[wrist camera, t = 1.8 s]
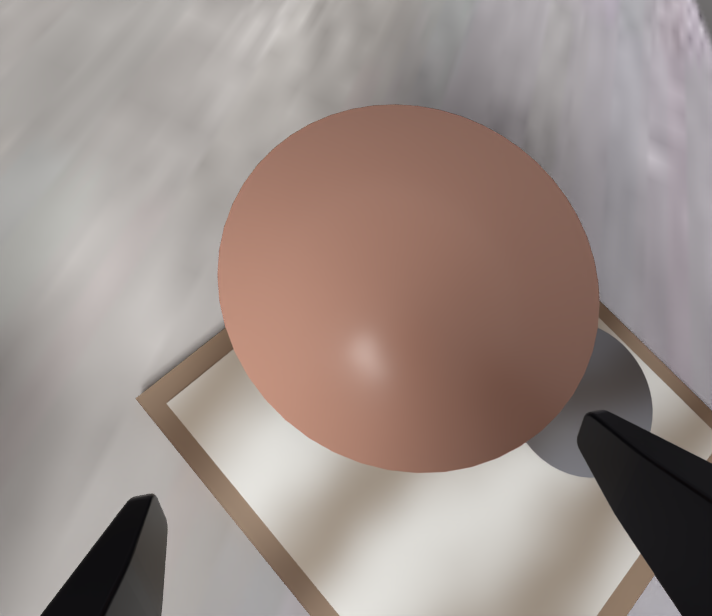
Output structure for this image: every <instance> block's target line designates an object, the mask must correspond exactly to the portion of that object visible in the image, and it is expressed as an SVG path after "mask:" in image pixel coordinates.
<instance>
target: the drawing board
mask: <svg viewBox="0 0 712 616" xmlns="http://www.w3.org/2000/svg"><path fill="white" fill-rule="evenodd" d="M599 304H600V305H599V318H598V329H597V334H596V339H595V343H594V348H593V352H592V355H591V357H590V360H589V363H588V366H587V368H586V371H585V374H584V375H583V377H582V379H581V381H580V383H579V385H578V387H577V388H576V390H575V392H574V394H573V395H572V397H571V398H570V399H569V401H568V402H567V403H566V405H565V406H564V407H563V409H562V410H561V411H560V413H559V414H558V415H557V416H556V417H555V418H554V419H553V420H552V421H551V422H550V423H549V424H548V425H547V426H546V427H545V428H544V429H543V430H542V431H541V432H539V433H538V434H537V435H535V436H534V437H533V438H531V439H530V440H528V441H527V442H526V443H524V444H523V445H522V446H520V447H518V448H516V449H514V450H512V451H510V452H509V453H507V454H505V455H503V456H501V457H499V458H497V459H494V460H491V461H488V462H485V463H482V464H479V465H476V466H474V467H470V468H464V469H459V470H453V471H448V472H433V473H411V472H401V471H392V470H386V469H382V468H378V467H374V466H370V465H366V464H362V463H359V462H357V461H354V460H352V459H349V458H347V457H344V456H342V455H339V454H337V453H334V452H332V451H331V450H329V449H327V448H325V447H324V446H322V445H320V444H318V443H317V442H315V441H313V440H311V439H310V438H308V437H307V436H305V435H304V434H303V433H302V432H300V431H299V430H298V429H296V428H295V427H294V426H293V425H291V424H290V423H289V422H287V421H286V420H285V419H284V418H283V417H282V416H281V415H280V414H279V413H278V412H277V411H276V410H275V409H274V408H273V407H272V406H271V405H270V404H269V403H268V402H267V401H266V400H265V399H264V397H263V396H262V394H261V393H260V392H259V390H258V389H257V388H256V386H255V385H254V384H253V382H252V381H251V380H250V378H249V377H248V375H247V373H246V372H245V370H244V368H243V366H242V364H241V362H240V361H239V359H238V357H237V355H236V353H235V351H234V349H233V346H232V343H231V341H230V338H229V335H228V333H227V330H226V328H224V329H223V330H222V331H221V332H219V333H218V334H217V335H215V336H214V337H213V338H212V339H210V340H209V341H208V342H207V343H205V344H204V345H203V346H202V347H200V348H199V349H198V350H196V351H195V352H194V353H193V354H191V355H190V356H189V357H188V358H186V359H185V360H184V361H183V362H181V363H180V364H179V365H177V366H176V367H175V368H174V369H172V370H171V371H170V372H169V373H167V374H166V375H165V376H164V377H162V378H161V379H160V380H158V381H157V382H156V383H155V384H153V385H152V386H151V387H150V388H148V389H147V390H146V391H145V392H143V393H142V394H141V395H139V396H138V397H137V398H136V400H137V401H138V402H139V404H140V405H141V406H142V407H143V409H144V410H145V411H146V412H147V414H148V415H149V416H150V417H151V419H152V420H153V421H154V422H155V423H156V425H157V426H158V427H159V428H160V430H161V431H162V432H163V433H164V435H165V436H166V437H167V438H168V440H169V441H170V442H171V443H172V445H173V446H174V447H175V448H176V450H177V451H178V452H179V453H180V454H181V456H182V457H183V458H184V459H185V461H186V462H187V463H188V464H189V466H190V467H191V468H192V469H193V471H194V472H195V473H196V474H197V476H198V477H199V478H200V479H201V481H202V482H203V483H204V484H205V486H206V487H207V488H208V489H209V490H210V492H211V493H212V494H213V495H214V497H215V498H216V499H217V500H218V502H219V503H220V504H221V505H222V507H223V508H224V509H225V510H226V512H227V513H228V514H229V515H230V517H231V518H232V519H233V520H234V521H235V523H236V524H237V525H238V526H239V528H240V529H241V530H242V531H243V533H244V534H245V535H246V536H247V538H248V539H249V540H250V541H251V543H252V544H253V545H254V546H255V548H256V549H257V550H258V551H259V553H260V554H261V555H262V556H263V557H264V559H265V560H266V561H267V562H268V564H269V565H270V566H271V567H272V569H273V570H274V571H275V572H276V574H277V575H278V576H279V577H280V579H281V580H282V581H283V582H284V584H285V585H286V586H287V587H288V588H289V590H290V591H291V592H292V593H293V595H294V596H295V597H296V598H297V600H298V601H299V602H300V603H301V605H302V606H303V607H304V608H305V610H306V611H307V612H308V613H309V615H310V616H627V614H628V613H629V611H630V610H631V609H632V607H633V606H634V604H635V603H636V601H637V600H638V598H639V597H640V595H641V594H642V593H643V591H644V590H645V588H646V587H647V585H648V584H649V582H650V581H651V579H652V578H653V576H654V573H653V572H652V570H651V569H650V567H649V566H648V564H647V563H646V561H645V560H644V558H643V557H642V555H641V554H640V552H639V551H638V549H637V548H636V546H635V545H634V543H633V542H632V540H631V539H630V537H629V536H628V534H627V533H626V531H625V530H624V528H623V527H622V525H621V524H620V522H619V520H618V519H617V517H616V516H615V514H614V512H613V511H612V509H611V507H610V505H609V504H608V502H607V500H606V498H605V496H604V495H603V493H602V491H601V489H600V487H599V485H598V484H597V482H596V480H595V478H594V476H593V474H592V473H591V471H590V469H589V467H588V465H587V463H586V461H585V460H584V458H583V456H582V454H581V452H580V450H579V448H578V445H577V435H578V432H579V429H580V426H581V423H582V420H583V417H584V415H585V414H586V413H587V412H591V411H596V410H607V411H609V412H611V413H613V414H615V415H617V416H619V417H621V418H623V419H625V420H627V421H629V422H631V423H633V424H635V425H637V426H639V427H641V428H643V429H645V430H647V431H649V432H651V433H653V434H655V435H657V436H659V437H661V438H663V439H665V440H667V441H669V442H671V443H673V444H675V445H677V446H679V447H681V448H683V449H685V450H687V451H689V452H691V453H693V454H695V455H697V456H699V457H701V458H702V459H704V460H706V461H708V462H710V463H712V411H711V410H710V409H709V408H708V407H707V406H706V405H705V404H704V403H703V402H702V401H701V400H700V399H699V398H698V397H697V396H696V395H695V394H694V393H693V392H692V391H691V390H690V389H689V388H688V387H687V386H686V385H685V384H684V383H683V382H682V381H681V380H680V379H679V378H678V377H677V376H676V375H675V374H674V373H673V372H672V371H671V370H670V369H669V368H668V367H667V366H666V365H665V364H664V363H663V362H662V361H660V360H659V359H658V358H657V357H656V356H655V355H654V354H653V353H652V352H651V351H650V350H649V349H648V348H647V347H646V346H645V345H644V344H643V343H642V342H641V341H640V340H639V339H638V338H637V337H636V336H635V335H634V334H633V333H632V332H631V331H630V330H629V329H628V328H627V327H626V326H625V325H624V324H623V323H622V322H621V321H620V320H619V319H618V318H617V317H616V316H615V315H614V314H613V313H612V312H611V311H610V310H609V309H608V308H606V307H605V306H604V305H603V304H602V303H601V302H600V301H599Z"/></svg>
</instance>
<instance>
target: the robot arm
mask: <svg viewBox="0 0 712 616" xmlns="http://www.w3.org/2000/svg"><path fill="white" fill-rule="evenodd" d="M577 445H578V448H579V450H580V452H581V454H582V456H583V458H584V460H585V461H586V463H587V465H588V467H589V469H590V471H591V473H592V474H593V476H594V478H595V480H596V482H597V484H598V485H599V487H600V489H601V491H602V493H603V495H604V496H605V498H606V500H607V502H608V504H609V505H610V507H611V509H612V511H613V512H614V514H615V516H616V517H617V519H618V520H619V522H620V524H621V525H622V527H623V528H624V530H625V531H626V533H627V534H628V536H629V537H630V539H631V540H632V542H633V543H634V545H635V546H636V548H637V549H638V551H639V552H640V554H641V555H642V557H643V558H644V560H645V561H646V563H647V564H648V566H649V567H650V569H651V570H652V572H653V573H654V575H655V576H656V578H657V579H658V581H659V582H660V584H661V585H662V587H663V588H664V590H665V591H666V593H667V594H668V596H669V597H670V599H671V600H672V602H673V603H674V605H675V606H676V608H677V609H678V610H679V612H680V613H681V615H682V616H712V463H710V462H708V461H706V460H704V459H702V458H701V457H699V456H697V455H695V454H693V453H691V452H689V451H687V450H685V449H683V448H681V447H679V446H677V445H675V444H673V443H671V442H669V441H667V440H665V439H663V438H661V437H659V436H657V435H655V434H653V433H651V432H649V431H647V430H645V429H643V428H641V427H639V426H637V425H635V424H633V423H631V422H629V421H627V420H625V419H623V418H621V417H619V416H617V415H615V414H613V413H611V412H609V411H607V410H596V411H591V412H587V413H586V414H585V415H584V417H583V420H582V423H581V426H580V429H579V432H578V435H577ZM167 531H168V529H167V520H166V517H165V515H164V513H163V510H162V508H161V506H160V503H159V501H158V498H157V497H156V495H154V494H146V495H140V496H135V497H132V498H131V499H130V500H128V501H127V503H126V504H125V505H124V507H123V508H122V509H121V510H120V512H119V513H118V514H117V516H116V517H115V518H114V520H113V521H112V522H111V524H110V525H109V526H108V528H107V529H106V530H105V531H104V533H103V534H102V535H101V537H100V538H99V539H98V541H97V542H96V543H95V545H94V546H93V547H92V548H91V550H90V551H89V552H88V554H87V555H86V556H85V558H84V559H83V560H82V562H81V563H80V564H79V566H78V567H77V568H76V569H75V571H74V572H73V573H72V575H71V576H70V577H69V579H68V580H67V581H66V583H65V584H64V585H63V587H62V588H61V589H60V590H59V592H58V593H57V594H56V596H55V597H54V598H53V600H52V601H51V602H50V604H49V605H48V606H47V608H46V609H45V610H44V611H43V613H42V614H41V615H40V616H161V613H162V601H163V588H164V574H165V560H166V546H167Z"/></svg>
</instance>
